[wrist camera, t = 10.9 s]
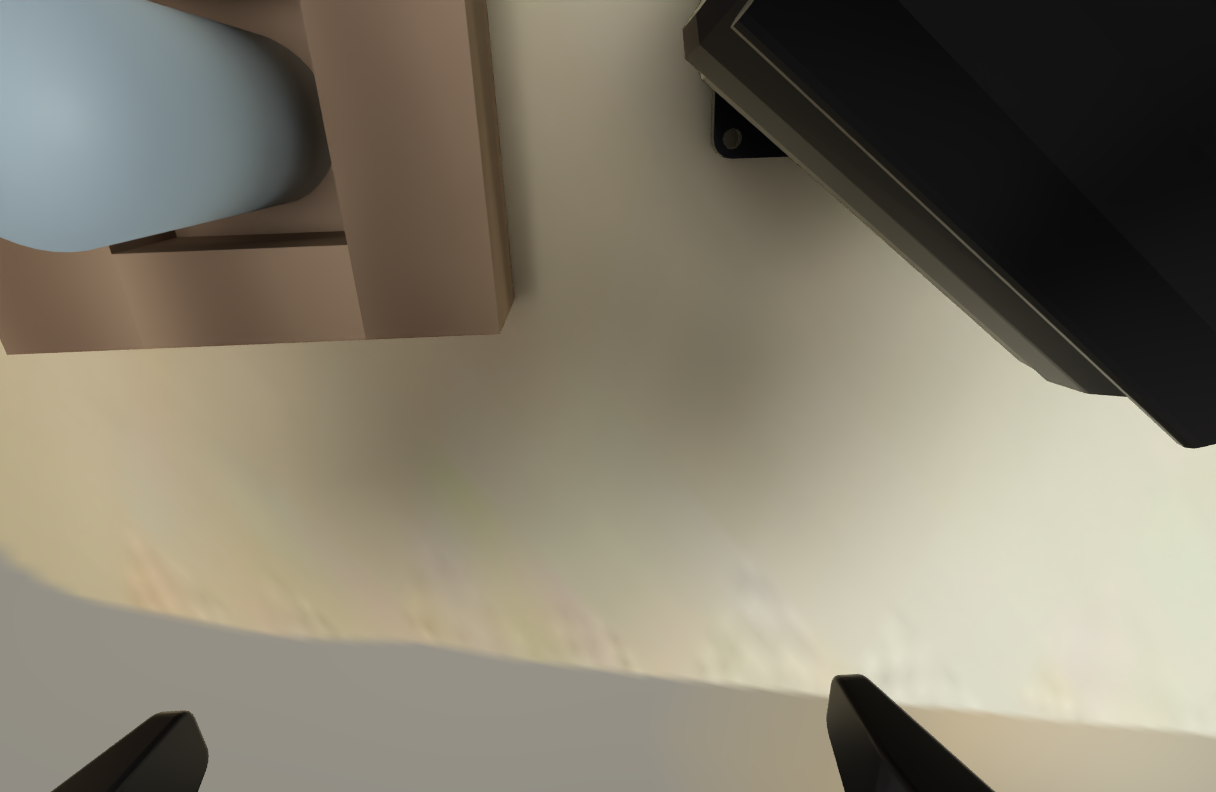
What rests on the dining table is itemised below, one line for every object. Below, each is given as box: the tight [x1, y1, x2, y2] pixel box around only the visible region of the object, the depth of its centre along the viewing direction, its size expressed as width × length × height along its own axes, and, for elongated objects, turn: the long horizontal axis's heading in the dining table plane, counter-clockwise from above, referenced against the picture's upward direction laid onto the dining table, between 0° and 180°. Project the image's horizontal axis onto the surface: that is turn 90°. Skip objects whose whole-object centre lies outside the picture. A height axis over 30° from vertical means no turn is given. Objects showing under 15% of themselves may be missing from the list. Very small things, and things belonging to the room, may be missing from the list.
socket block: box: [0, 0, 514, 355], centre depth 15 cm, size 12×10×4 cm
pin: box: [0, 0, 331, 252], centre depth 12 cm, size 4×4×7 cm
